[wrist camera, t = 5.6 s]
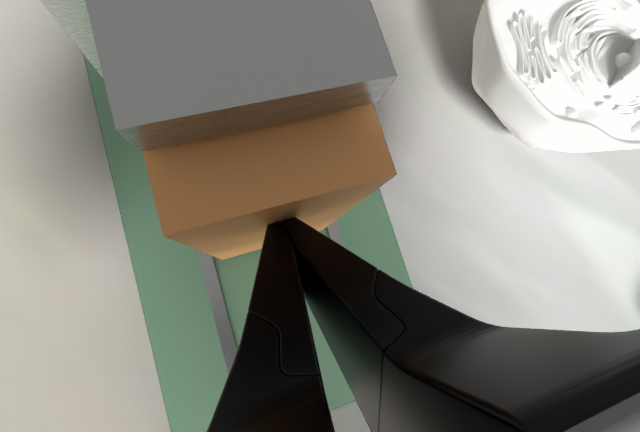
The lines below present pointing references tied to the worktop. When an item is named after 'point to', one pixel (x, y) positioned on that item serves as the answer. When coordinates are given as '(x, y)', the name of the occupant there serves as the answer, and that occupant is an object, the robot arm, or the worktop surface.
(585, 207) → the worktop surface
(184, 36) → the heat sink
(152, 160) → the orange block
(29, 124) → the worktop surface
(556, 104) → the cell model
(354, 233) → the board
